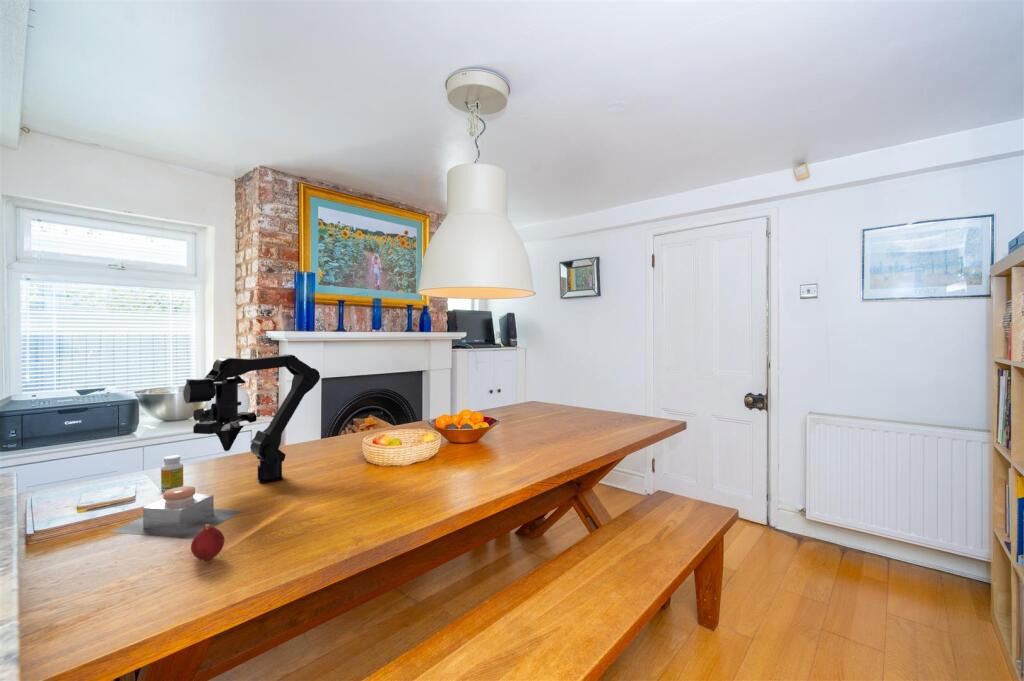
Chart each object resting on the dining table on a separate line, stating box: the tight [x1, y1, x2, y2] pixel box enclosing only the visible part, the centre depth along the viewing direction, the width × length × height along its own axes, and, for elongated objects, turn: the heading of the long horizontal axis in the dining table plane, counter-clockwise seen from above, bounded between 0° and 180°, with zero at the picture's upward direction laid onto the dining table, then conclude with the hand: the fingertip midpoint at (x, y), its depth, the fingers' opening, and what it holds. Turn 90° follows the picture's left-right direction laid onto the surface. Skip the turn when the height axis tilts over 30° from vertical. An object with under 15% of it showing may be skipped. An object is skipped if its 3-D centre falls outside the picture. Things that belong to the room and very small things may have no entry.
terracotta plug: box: [162, 486, 196, 505], centre depth 112 cm, size 6×6×7 cm
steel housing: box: [142, 493, 215, 531], centre depth 112 cm, size 10×10×5 cm
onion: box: [190, 524, 225, 563], centre depth 95 cm, size 6×6×8 cm
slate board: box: [108, 508, 243, 540], centre depth 112 cm, size 16×22×1 cm
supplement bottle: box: [160, 454, 184, 492], centre depth 137 cm, size 5×5×10 cm
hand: (226, 450), depth 136 cm, fingers closed
